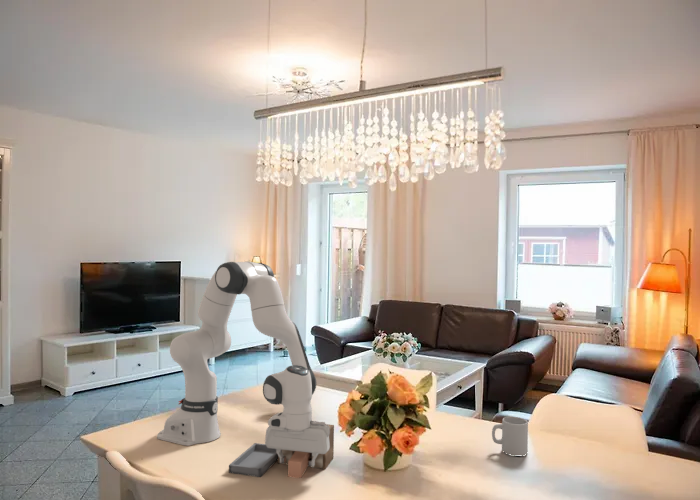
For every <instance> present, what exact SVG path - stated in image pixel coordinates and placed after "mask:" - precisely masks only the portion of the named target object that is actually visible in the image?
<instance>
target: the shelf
mask: <svg viewBox="0 0 700 500" xmlns="http://www.w3.org/2000/svg"><path fill="white" fill-rule="evenodd" d="M326 424H327V423H326ZM327 425H328V426H329V427H330V434H329V441H330V448H329V450H328V451H327V453H325V454H318V456H317V457H316V459H315V466H314V467H312V468H314V469H320V470H321V469H323V470H326V469H327V468H328V467H329V465H330V464H331V462H332V461H333V459H334V448H335V446H334V442H335V437H334V436H335V425H334V424H327ZM325 426H326V425H325ZM294 452H295V451H291V450H282V453H283V455H284V456H286V462H285V464H284V463H280V458H279V456H278V460H277V464H283V465H288V461H289V459H290V458H291V457H292V455H293V454H294ZM313 457H314V456H312V459H313Z"/></svg>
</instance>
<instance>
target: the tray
mask: <svg viewBox="0 0 700 500" xmlns="http://www.w3.org/2000/svg"><path fill="white" fill-rule="evenodd" d="M277 462H278V454H277V452H276V449H272V448H267V446H266V445H265V443H259V442H258V443H257V442H254V443H253V444H251V446H250V447H248V448H247V449H246V450H244V452H242V453H241V454H240V455H239V456H238V457H237V458H235V459H234V460H233V461H232V462H231V463H229V464H228V473H229V474H233V475H234V474H235V475H241V476H250V477H257V478H261V477H263V475H264V474H265V473H267V472H268V470H269V469H270V468H271V467H272V466H273V465H274V464H275V463H277Z"/></svg>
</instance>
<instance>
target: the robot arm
mask: <svg viewBox="0 0 700 500" xmlns="http://www.w3.org/2000/svg"><path fill="white" fill-rule="evenodd" d="M238 295H246V296H247V297H248V299H249V304H250V311H251V318H252V322H253V324H254V327H255V329H256V330H257V331H259V332H260V333H261V334H263V335H265V336H268V337H271V338H274V339H277V340H278V341H281V342H282V343H283V344H284V345H285V347H286V349H287V352H288V355H289V359H290V362H291V365H289V366H287V367H286V368H285V369H284V370H282V371H280V372H276V373H271V374H269V375H267V377H266V378H265V379H264V381H263V385H262V393H263V397H264V399H265V400H266V401H267V403H269V404H271V405H279V406H280V405H282V406H283V410H282V411H280V412H277V413H276V414H273V415H272V416H271V417H270V418H269V419H268V420H267V424H268V426H267V428H266V430H265V431H266V432H265V438H264V439H265V440H264V444H265V445H266V446H267V448H272V449H276V452H277V454H278V456H279V458H280V463H279V464H282V463H284V464H283V465H286V464H285V462H286V456H284V455H283V453H282V450H291V451H300V452H309V453H312V456H314V457H313V459H310V460H309V465H308V467H309V468H310V467H311V468H313V467H314V466H315V459H316V457H317V456H318V454H325V453H327V451H328V450H329V448H330V441H329V434H330V427H329V426H328V425H327V423H326V422H325V421H318V420H317V421H316V420H313V407H312V404H311V401H312V397H313V395H314V393H315V391H316V388H317V377H316V375H315V373H314V372H313V369H312V368H311V365H310V362H309V360H308V359H309V358H308V355H307V352H306V349H305V346H304V344H303V340H302V337H301V334H300V332H299V328H298V326H297V325H296V323H295V322H293V321H292V320H291V318H290V317H289V315H288V313H287V309H286V306H285V301H284V296H283V292H282V288H281V285H280V284H279V281H278V279H277V278H276V277H275V274H274V271H273V269H272V268H271V266H269V265H267V264H265V263H262V262H253V261H228V262H224V263H222V264H220V265H219V266H218V267H217V269H216V271H214V273H213V275H212V276H211V278H210V280H209V282H208V283H207V286H206V287H205V290H204V293H203V296H202V297H201V301H200V304H199V307H198V309H197V316H198V318H199V319H200V320H201V321H202V323H201V326H200V328H199V329H198V330H194V331H188V332H184V333H182V334H180V335H178V336H175V338H173V339H172V340H171V343H170V346H169V354H170V357H171V358H172V360H173V361H174V362H175V363H177V364H178V365H179V366H180V368H181V369H182V372H183V377H184V384H185V385H184V387H185V389H184V390H185V391H184V394H185V395H184V397H183V398H182V399H181V400H179V401H178V405H181V406H180V408H179V409H177V410H176V411H175V412H174V413H172V414H171V415H170V416H168V417H167V418H166V419H165V422H164V426H163V429H161V431H159V432H158V433H157V435H156V439H157V440H161V441H165V442H169V443H174V444H176V445H182V446H192V445H197V444H203V443H209V442H212V441H216V440H217V439H218V438H220V437H221V431H220V426H219V421H218V409H219V407H218V404H219V403H218V402H219V401H218V400H219V399H218V398H219V397H218V396H217V394H218V393H217V392H218V391H217V390H218V389H217V388H218V387H217V386H218V384H217V383H218V382H217V381H218V377H217V375H216V373H215V372H214V371H213V370H210V368H209V365H208V360H209V359H214V358H216V357H217V358H218V357H219V356H221V355H223V354H224V353H226V352H228V350H230V348H231V346H232V337H231V334H230V333H229V331H228V322H229V319H230V315H231V312H232V310H233V306H234V303H235V301H236V300H237V297H238ZM325 425H326V426H325Z"/></svg>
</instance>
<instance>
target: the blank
mask: <svg viewBox="0 0 700 500" xmlns="http://www.w3.org/2000/svg"><path fill="white" fill-rule="evenodd" d="M310 459H312V453H309V452H300V451H295V452H294V454H293V455H292V457H291V458H290V459H289V461H288V464H287V468H288V469H287V471H288V473H287V477H288V478H295V479H301V478H302V477H303V475H304V474H305V472H306V470H307V469H308V467H309V460H310Z"/></svg>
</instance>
